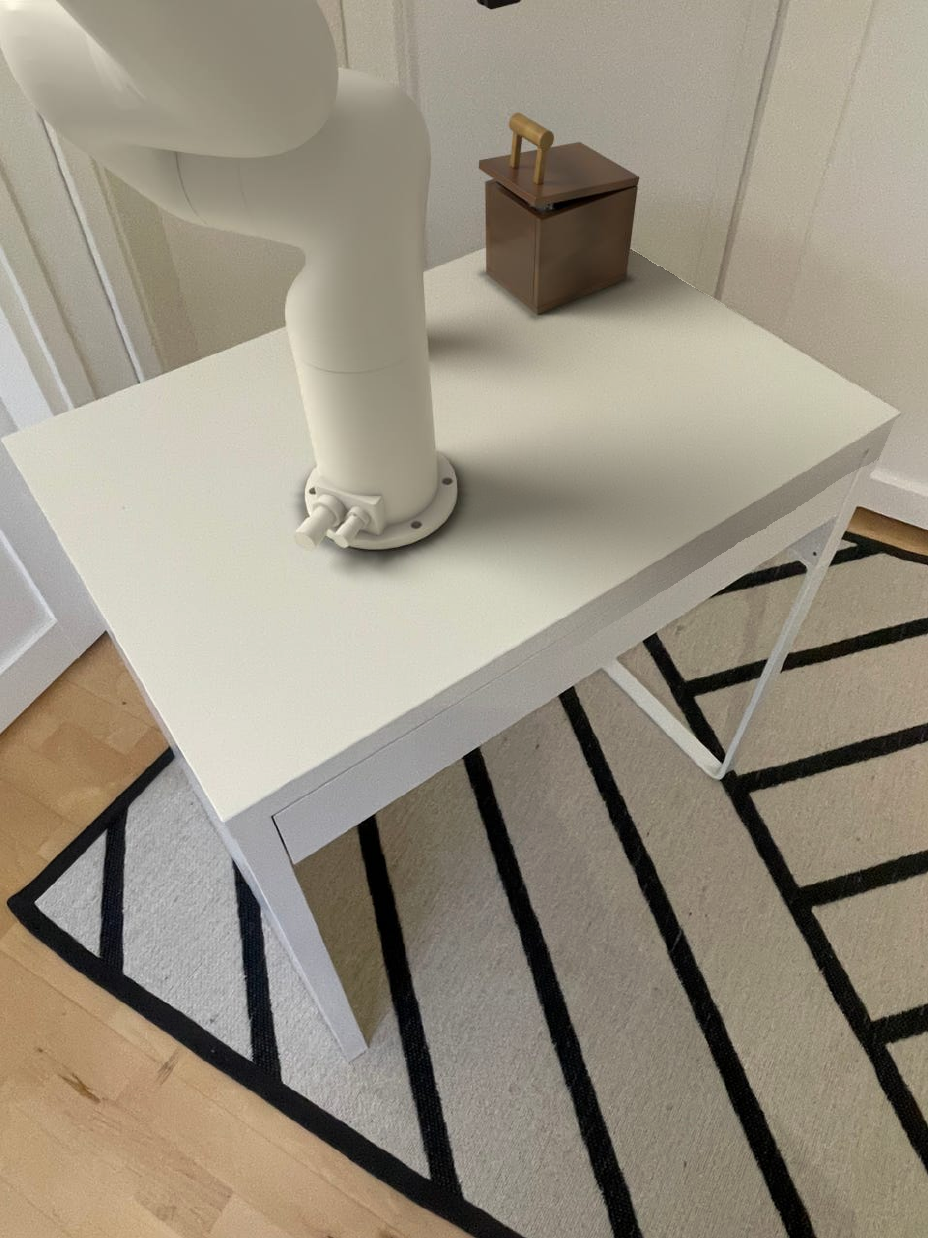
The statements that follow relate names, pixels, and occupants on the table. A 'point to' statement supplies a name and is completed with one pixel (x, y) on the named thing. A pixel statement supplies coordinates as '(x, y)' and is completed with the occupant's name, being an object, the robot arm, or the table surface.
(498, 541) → the table surface
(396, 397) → the robot arm
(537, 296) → the chest
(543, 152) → the lid
